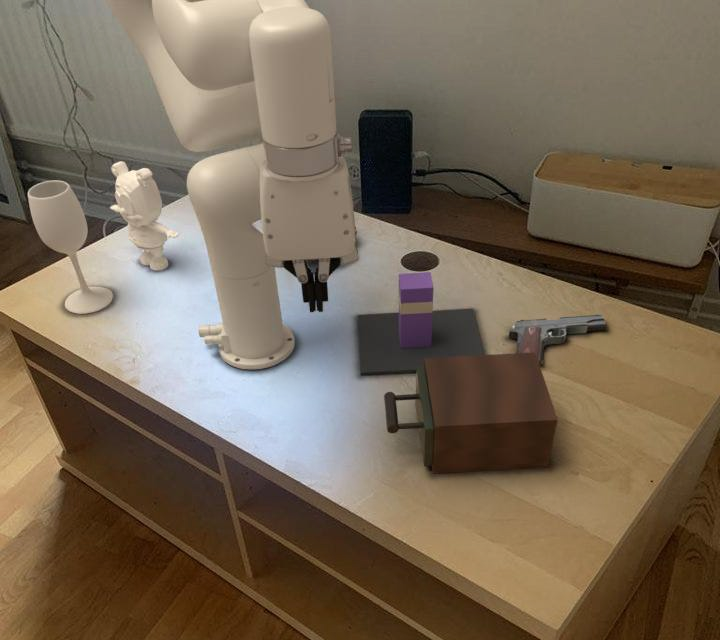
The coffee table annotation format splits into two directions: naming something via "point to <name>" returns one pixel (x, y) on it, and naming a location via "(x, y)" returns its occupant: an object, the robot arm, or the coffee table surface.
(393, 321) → the mat
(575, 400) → the coffee table surface
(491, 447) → the cabinet
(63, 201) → the wineglass
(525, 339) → the handgun
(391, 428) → the drawer
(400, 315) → the snack box
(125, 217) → the white cartoon figurine
